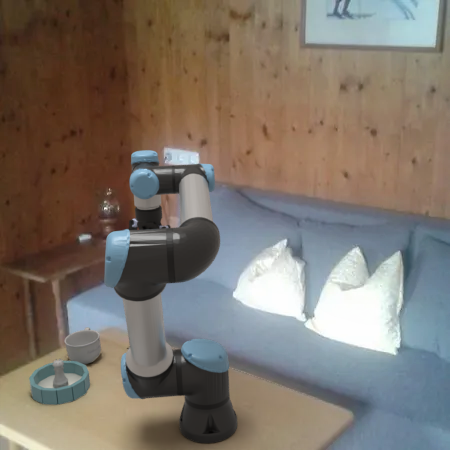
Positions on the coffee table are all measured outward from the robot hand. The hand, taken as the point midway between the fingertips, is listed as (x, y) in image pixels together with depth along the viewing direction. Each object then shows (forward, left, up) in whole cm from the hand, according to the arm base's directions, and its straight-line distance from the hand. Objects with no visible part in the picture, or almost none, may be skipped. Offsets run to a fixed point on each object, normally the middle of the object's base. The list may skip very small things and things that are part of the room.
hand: (153, 276), depth 192 cm
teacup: (+25, +7, -31) cm, 40 cm away
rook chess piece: (+17, +24, -30) cm, 42 cm away
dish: (+17, +24, -31) cm, 43 cm away
